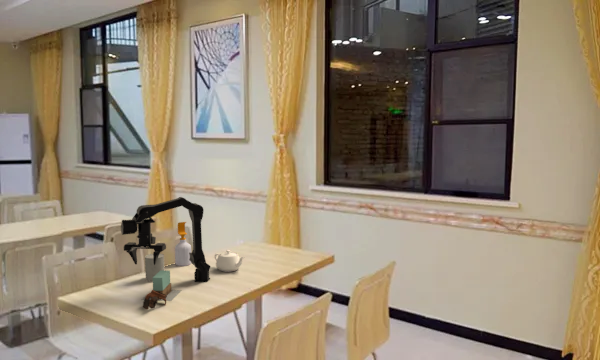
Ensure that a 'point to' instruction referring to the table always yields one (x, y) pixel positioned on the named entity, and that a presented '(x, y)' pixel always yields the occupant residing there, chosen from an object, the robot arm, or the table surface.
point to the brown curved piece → (153, 299)
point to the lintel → (161, 280)
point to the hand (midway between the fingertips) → (145, 264)
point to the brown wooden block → (163, 292)
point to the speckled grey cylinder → (153, 266)
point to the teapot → (228, 261)
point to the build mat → (169, 295)
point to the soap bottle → (182, 247)
